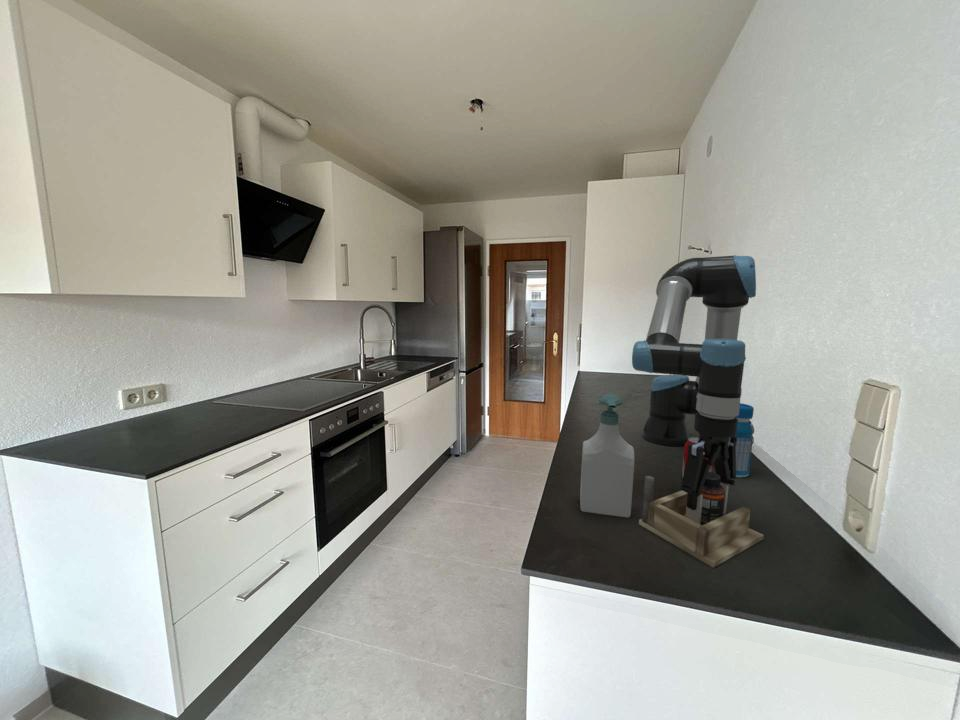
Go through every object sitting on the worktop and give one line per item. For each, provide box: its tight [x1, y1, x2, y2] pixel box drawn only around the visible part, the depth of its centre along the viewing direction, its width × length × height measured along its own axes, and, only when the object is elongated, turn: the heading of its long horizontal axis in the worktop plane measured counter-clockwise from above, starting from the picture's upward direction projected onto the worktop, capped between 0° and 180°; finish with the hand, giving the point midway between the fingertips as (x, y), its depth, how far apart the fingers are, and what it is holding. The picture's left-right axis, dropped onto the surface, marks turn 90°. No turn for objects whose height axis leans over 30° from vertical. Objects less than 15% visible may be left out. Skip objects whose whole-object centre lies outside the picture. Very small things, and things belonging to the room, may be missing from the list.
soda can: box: [681, 436, 714, 479], centre depth 103 cm, size 7×7×12 cm
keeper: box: [638, 475, 765, 569], centre depth 80 cm, size 18×16×11 cm
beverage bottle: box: [730, 402, 755, 478], centre depth 109 cm, size 8×8×20 cm
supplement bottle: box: [700, 471, 725, 525], centre depth 81 cm, size 6×6×11 cm
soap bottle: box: [579, 393, 635, 518], centre depth 87 cm, size 11×8×27 cm
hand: (705, 516), depth 81 cm, fingers open, 9 cm apart
